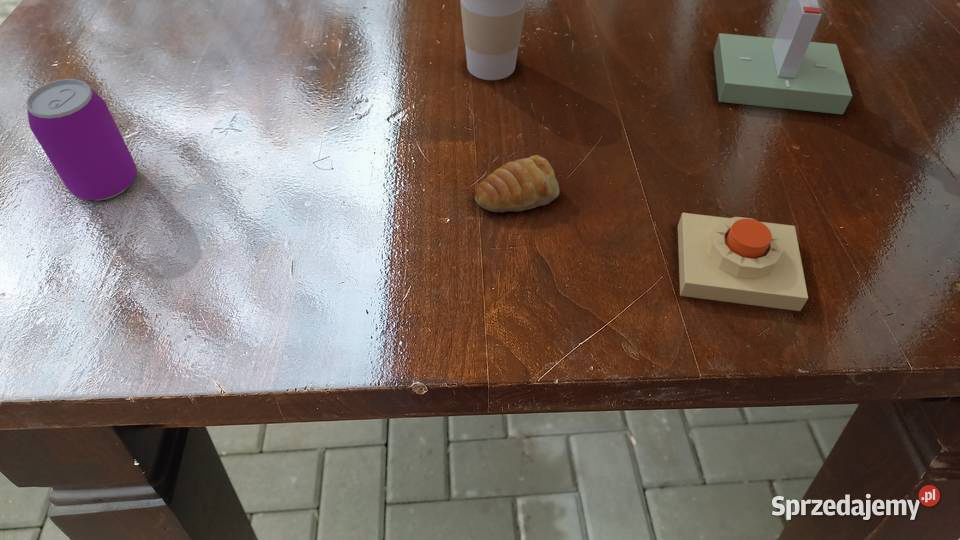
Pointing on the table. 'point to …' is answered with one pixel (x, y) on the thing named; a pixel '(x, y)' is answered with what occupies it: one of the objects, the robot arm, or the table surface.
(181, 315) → the table surface
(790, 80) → the panel
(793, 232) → the button box
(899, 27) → the table surface
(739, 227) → the button
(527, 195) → the pastry
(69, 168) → the beverage can
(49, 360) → the table surface
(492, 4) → the coffee cup
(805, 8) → the switch lever
